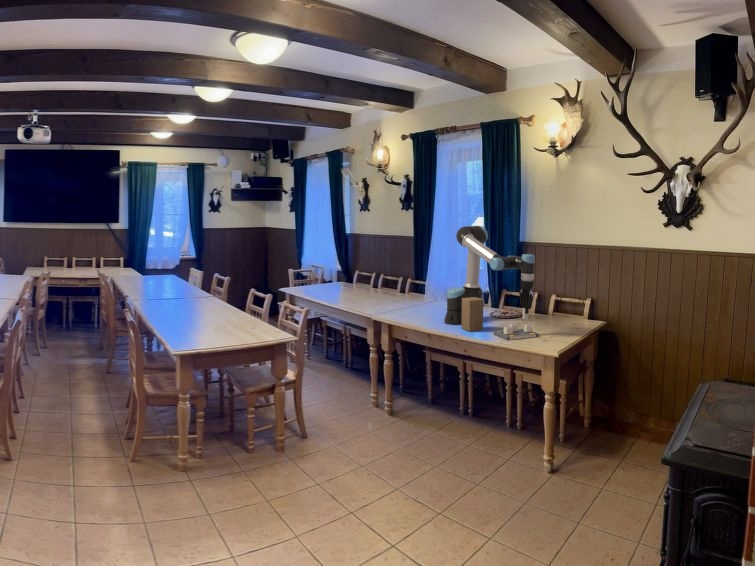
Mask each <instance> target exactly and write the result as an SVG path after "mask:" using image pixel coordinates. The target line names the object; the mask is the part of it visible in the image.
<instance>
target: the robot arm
mask: <svg viewBox="0 0 755 566" xmlns="http://www.w3.org/2000/svg"><path fill="white" fill-rule="evenodd" d="M455 236H456V237H455V238H456V241H457V243H458V244H459V245H460V246H462V247H463V248H467V261H466V272H465V273H466V276H465V283H464V284H463V285H462V286H456V287H450V288H448V289H447V292H446V313H445V316H444V319H443V321H444V322H443V323H444V324H447V325H453V326H454V325H455V326H460V325H461V326H462V298H470V297H477V298H480V299H483V300H484V296H485V294H484V291H483V290H484V289H482V288H481V287H482V286H481V285H480V284H479V282H480V280H479V279H480V269H481V259H483V260H484V261H486V263H488V264H489V266H490V268H491V270H492V271H503V270H513V269H514V270H515V269H516V270H520V279H521V280H520V287H521V289H519V290H518V293H519V301H520V307H522V319H523V320H527V319H529V311H530V309H531V308H532V305H533V301H534V297H535V294H536V293H535V292H533V287H534V282H535V281H534V279H535V265H536V264H535V263H536V261H535V260H536V256H535V255H534V254H531V253H530V254H529V253H526V254H525V253H524V254H521V256H516V255H507V256H502V255H499V254H498V253H496V251H494V250H493V249H491V248H489V247H488V246H487V245H485V243H486V242H487V241H488V239H489V233H488V230H487V229H486V228H485V227H484V226H483V225H470V226H469V225H468V226H467V225H466V226H462V227H460V228H459V229H458V230H457V232H456V235H455Z"/></svg>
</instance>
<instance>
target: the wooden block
mask: <svg viewBox="0 0 755 566" xmlns="http://www.w3.org/2000/svg"><path fill="white" fill-rule="evenodd" d="M461 329H462V330H465V332H469V333H472V332H481V331H483V330H484V298H483V299H480V298H477V297H470V298H462V325H461Z"/></svg>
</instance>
